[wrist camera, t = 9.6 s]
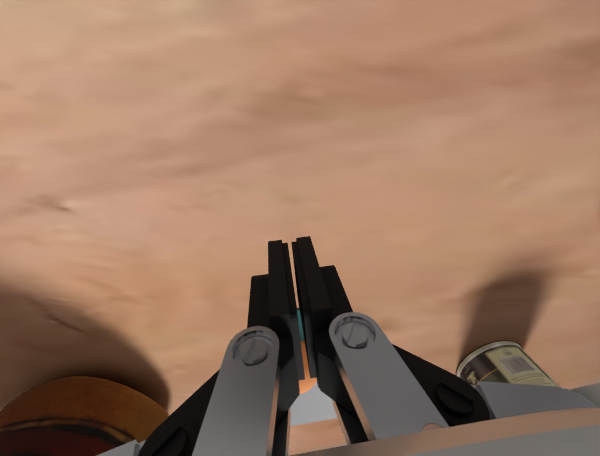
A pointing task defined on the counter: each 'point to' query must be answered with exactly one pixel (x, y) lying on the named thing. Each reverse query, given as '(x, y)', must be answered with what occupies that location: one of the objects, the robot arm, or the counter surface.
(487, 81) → the counter surface
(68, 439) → the ceramic pitcher
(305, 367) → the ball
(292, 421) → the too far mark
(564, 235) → the counter surface
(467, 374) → the coffee can
